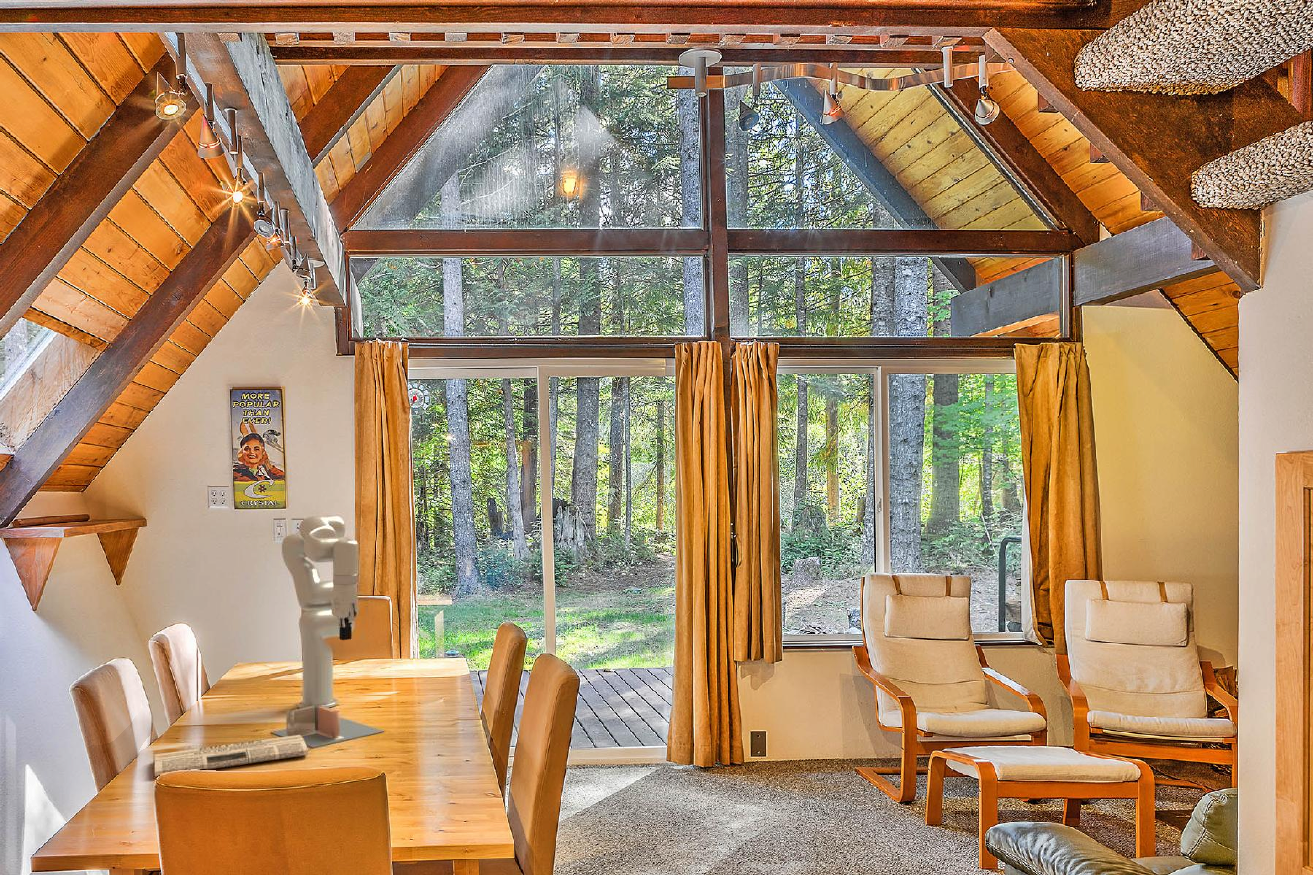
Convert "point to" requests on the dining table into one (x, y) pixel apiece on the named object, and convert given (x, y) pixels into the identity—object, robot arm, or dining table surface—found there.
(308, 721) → the fence fixed
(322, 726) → the fence panel
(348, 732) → the card
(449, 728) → the dining table surface
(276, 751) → the newspaper
